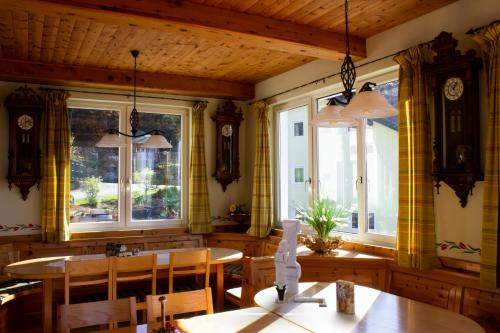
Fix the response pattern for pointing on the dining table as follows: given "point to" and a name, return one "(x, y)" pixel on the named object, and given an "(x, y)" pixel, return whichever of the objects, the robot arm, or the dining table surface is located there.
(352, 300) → the candy box
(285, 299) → the brown square backing plate
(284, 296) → the u clip
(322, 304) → the rack
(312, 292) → the dining table surface
